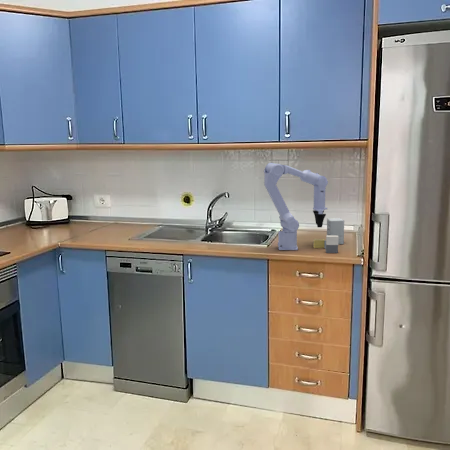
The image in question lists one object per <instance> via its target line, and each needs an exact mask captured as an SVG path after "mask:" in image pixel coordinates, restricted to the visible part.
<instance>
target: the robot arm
mask: <svg viewBox="0 0 450 450" xmlns="http://www.w3.org/2000/svg"><path fill="white" fill-rule="evenodd" d="M263 173H264V182H263V183H264V187H265V189H266V192H267V193H268V194H269V196H270V199H271V201H272V203H273V205H274V207H275V209H276V211H277V213H278V215H279V221H280V222H279V223H280V227H281V228H282V230H279V231H278V233H277V234H278V236H277V237H278V239H277V240H278V241H277V247H278V250H279V251H298V250H299V247H298V237H297V236H298V231H297V230H299V228H300V223H299V221H298V220H297V219H296V218H295V216H294V215H293V214H292V213H291V211H290V209H289V208H288V206H287V204H286V202H285V200H284V198H283V196H282V193H281V192H280V190H279V188H278V186H277V183H278V182H279V180H280V179H281V177H282V176H284V175H292V176H295V177H298V178H300V181H301V182H303V183H306V184H310V185H313V208H312V209H313V210H312V213H313V215H314V219H315V220H314V221H315V224H316V225H317V228H322V227H323V224H324V220H325V218H326V216H327V214H326V213H325V210H328V207H326V190H327V188H326V187H327V186H328V185H329V181H328V178H327V177H326V176H325V175H320V174H319V173H318V172H312V170H311V169H304V170H300V169H297V168H295V167H292V166H290V165H286V164H282V163H274V162H268V163H267V164H266V165H265V167H264V170H263Z"/></svg>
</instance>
